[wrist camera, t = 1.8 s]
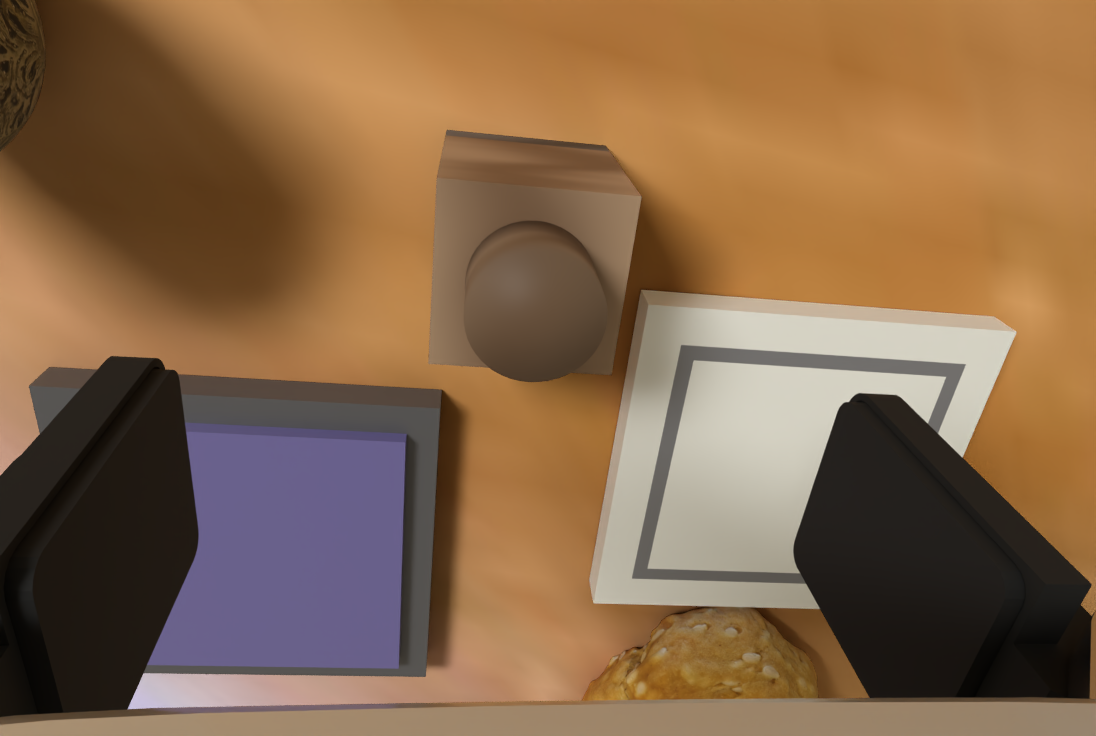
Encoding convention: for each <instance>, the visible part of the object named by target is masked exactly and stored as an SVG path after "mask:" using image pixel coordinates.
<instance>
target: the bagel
mask: <svg viewBox="0 0 1096 736" xmlns="http://www.w3.org/2000/svg"><path fill="white" fill-rule="evenodd" d="M784 698H818V687H817V675H816V672H815V669H814V666H813V664H812V662H811V660H810V659H809V657H808V656H807V654H806V653H805V652H803V651H802V650H801V649H799V648H797V647H795V646H793V645H792V644H791V643H789V642H788V641H787V640H786V639H784V638H783V637H782V635H781V634H780V633H779V632H778V631H777V629H776V627H775V626H774V625H772V624H771V623H769V622H768V621H767V620H766V619H765V618H763V616H762V615H761V614H760V613H759V612H758V611H757V610H756V609H755V608H754V607H720V606H707V607H704V608H701V609H697V610H691V611H688V612H686V613H683V614H674V615H669V616H667V617H666V618H664V619H663V620H661V622H660V624H659V626H658V627H657V628H655V629H654V630H653V631H652V633H651V641H650V642H649V644H648V643H647V644H646V645H645V646H644V647H643V648H641V649H639V648H635V647H633V648H631V649H630V650H628V651H624V652H623V653H622V654H621V655H617V656H613V657H612V658H611V660H610V662H609V665H608V666H607V668H606V669H605V671H604V672H603V673H602V674H601V676H600V677H599V678H598V679H596V680H594V681H592V682H591V683H590V685H589V687H588V689H587V691H586V693H585V695H584V697H583V699H582V701H593V700H678V699H784Z"/></svg>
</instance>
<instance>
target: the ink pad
mask: <svg viewBox="0 0 1096 736" xmlns="http://www.w3.org/2000/svg"><path fill="white" fill-rule="evenodd" d="M96 371H97V370H92V369H75V368H57V367H49V368H48V369H47V370H46V371H45V372H43V373H42V374H41V375H40V376H39V377H38V378H37V379H36V380H35V381H34V382H33V383H31V384H30V385H29V388H30V393H31V397H32V402H33V406H34V410H35V415H36V419H37V423H38V428H39V432H40V434H41V432H42V431H43V430H44V429H45V428H46V427H47V426H48V425H49V423H50V422H51V421H52V420H53V419H54V418H55V417H56V416H57V414H58V413H59V412H60V411H61V410H62V409H63V408H64V407H65V406H66V404H67V403H68V402H69V401H70V400H71V399H72V398H73V397H74V395H75V394H76V393H77V392H78V391H79V390H80V389H81V388H82V386H83V385H84V384H85V383H86V382H87V381H88V380H89V379H90V378H91V376H92V375H93V374H94V373H95V372H96ZM178 376H179V380H180V387H181V395H182V403H183V411H184V419H185V427H186V434H187V442H188V450H189V458H190V466H191V474H192V482H193V490H194V498H195V506H196V513H197V521H198V530H199V540H198V548H197V552H196V556H195V558H194V561H193V563H192V565H191V568H190V570H189V572H188V574H187V577H186V579H185V581H184V583H183V586H182V588H181V590H180V592H179V595H178V597H177V599H176V601H175V603H174V606H173V608H172V610H171V612H170V615H169V617H168V619H167V621H166V624H165V626H164V628H163V630H162V633H161V635H160V637H159V639H158V642H157V644H156V646H155V648H154V651H153V653H152V655H151V657H150V660H149V662H148V664H147V666H146V669H145V671H144V673H177V674H254V675H331V676H408V677H426V666H427V654H428V636H429V617H430V599H431V580H432V562H433V543H434V525H435V506H436V487H437V469H438V450H439V432H440V413H441V395H442V390H436V389H418V388H401V387H384V386H367V385H350V384H333V383H315V382H298V381H281V380H264V379H247V378H229V377H212V376H195V375H178Z"/></svg>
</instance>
